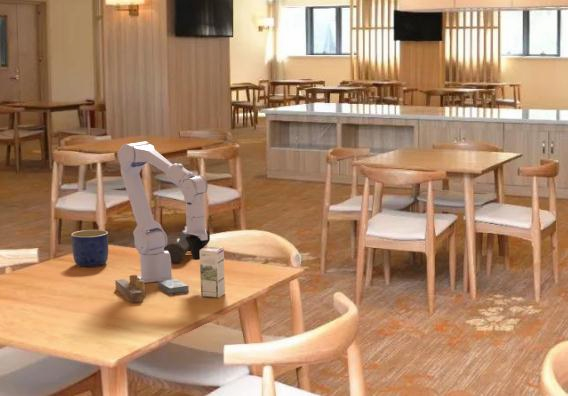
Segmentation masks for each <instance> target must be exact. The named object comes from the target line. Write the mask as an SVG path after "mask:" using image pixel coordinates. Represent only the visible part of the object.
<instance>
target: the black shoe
mask: <svg viewBox="0 0 568 396" xmlns="http://www.w3.org/2000/svg"><path fill="white" fill-rule="evenodd" d="M183 231H185V227H184V228H183V229H182V230H181V231H180V232H179V239H178V241H176V242H171V243H169V244H167V245H166V246H165V247H164V251H168V252H169V253H170V257H171V265H178V264H181V262H182V261H183V260H184V259H185V256H186V254H187V252H188V251H191V250H190V247H189V244H188V242H187V240H186V237H189V236H190V234H184V233H183ZM206 233H207V235H208V240H206V242H205V244H204V247H206V246H207V245H208V244H209V242H210V241H211V234H210V231H208V229H206ZM204 247H203V248H204Z"/></svg>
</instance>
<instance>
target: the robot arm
mask: <svg viewBox="0 0 568 396" xmlns="http://www.w3.org/2000/svg"><path fill="white" fill-rule="evenodd" d="M116 156H117V159H118V162H119V165H120V175H121V178H122V181H123V184H124V187H125V190H126V194H127V197H128V200H129V203H130V207H131V209H132V212H133V216H134V219H135V221H136V222H135V223H136V227H135V229H134V230H133V232H132V233H133V237H134V238H133V239H134V242H133V243H134V248H135V250H136V251H138V254H139V259H140V260H139V261H140V264H139V265H140V275H137V278H138V280H144V284H145V283H148V284H149V283H154V282H155V283H156V282H158V281H164V280H171V279H173V277H172V275H173V274H172V273H173V272H172V263H171V257H170V253H169V252H168V251H164V247H166V246H167V245H168V236H167V233H166V232H165V231H164V229H163V227H162V224H161V223H159V222H158V221H156V220H155V219H154V216H153V213H152V210H151V206H150V204H149V200H148V197H147V193H146V190H145V187H144V184H143V181H142V177H141V175H140V173H141V171H142V169H143V168H144V167H145V165H147V163H149V165H150V164H151V165H152V166H153V167H156V168H157V169H158V170H160V171H162V172H163V173H165V175H166V178H167V180H168V181H170V182H171V183H173V184H174V185H175V186H177V187H178V188H179V189H180V190H181V193H182V195H183V200H184V202H185V223H186V225H185V226H184V228H185V231H183V233H184V234H190V236H189V237H186V240H187V242H188V244H189V247H190V250H189V251H190V254H191V257H192V260H194V261H198V260H199V261H200V250H201V249H202V248H203V247H204V244H205V242H206V240H208V235H207V233H206V230H207V229H206V214H205V213H206V212H205V193H206V192H207V191H208V188H209V187H208V186H209V185H208V181H207V179H206V178H205V177H204V176H203V175H195V174H194V172H192V171H190V170H188V169H186V168H185V167H184V165H183V164H182V163H172V162H170V161H169V159H167V158H166V157H164V156H163V155H162V154H161V153H160V152H158V150H156V149H155V147H154V145H152V144H150V143H149V142H148V141H144V140H143V141H139V142H135V143H134V142H133V143H124V144H122V145H121V146H120V148H119V149H118V152H117V155H116Z"/></svg>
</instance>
